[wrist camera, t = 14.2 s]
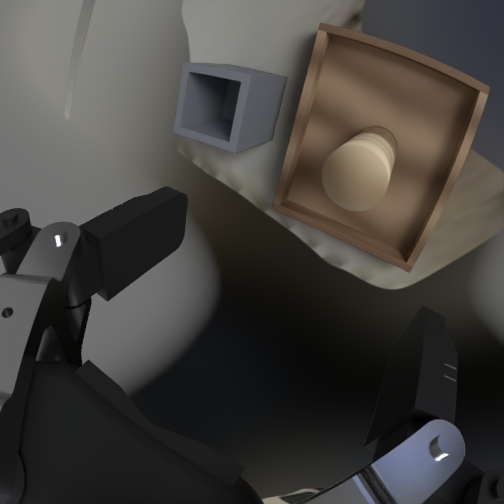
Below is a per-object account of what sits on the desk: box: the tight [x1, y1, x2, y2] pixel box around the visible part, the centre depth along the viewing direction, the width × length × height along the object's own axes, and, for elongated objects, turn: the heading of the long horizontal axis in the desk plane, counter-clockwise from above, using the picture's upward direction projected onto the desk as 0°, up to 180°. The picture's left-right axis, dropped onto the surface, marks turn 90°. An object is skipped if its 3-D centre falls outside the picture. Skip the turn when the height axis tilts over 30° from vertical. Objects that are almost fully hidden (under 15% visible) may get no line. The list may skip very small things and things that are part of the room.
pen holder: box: [173, 63, 287, 153], centre depth 29 cm, size 7×7×8 cm
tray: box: [272, 23, 490, 273], centre depth 27 cm, size 20×16×3 cm
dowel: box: [322, 126, 398, 211], centre depth 23 cm, size 4×4×13 cm
